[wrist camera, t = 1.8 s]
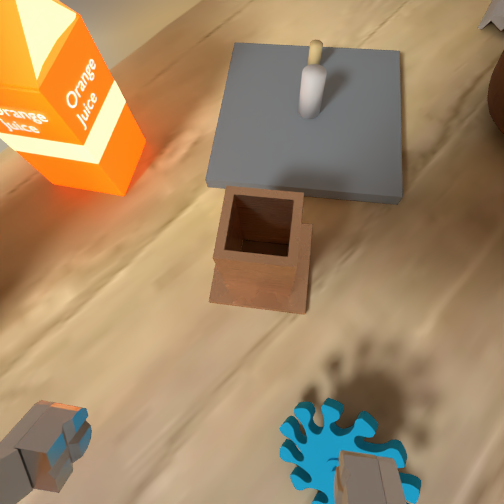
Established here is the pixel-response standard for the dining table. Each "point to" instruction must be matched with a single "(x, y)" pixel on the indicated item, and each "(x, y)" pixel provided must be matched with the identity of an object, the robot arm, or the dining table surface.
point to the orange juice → (63, 100)
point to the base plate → (311, 122)
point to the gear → (335, 449)
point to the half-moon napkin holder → (494, 15)
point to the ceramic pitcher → (497, 94)
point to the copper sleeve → (260, 265)
